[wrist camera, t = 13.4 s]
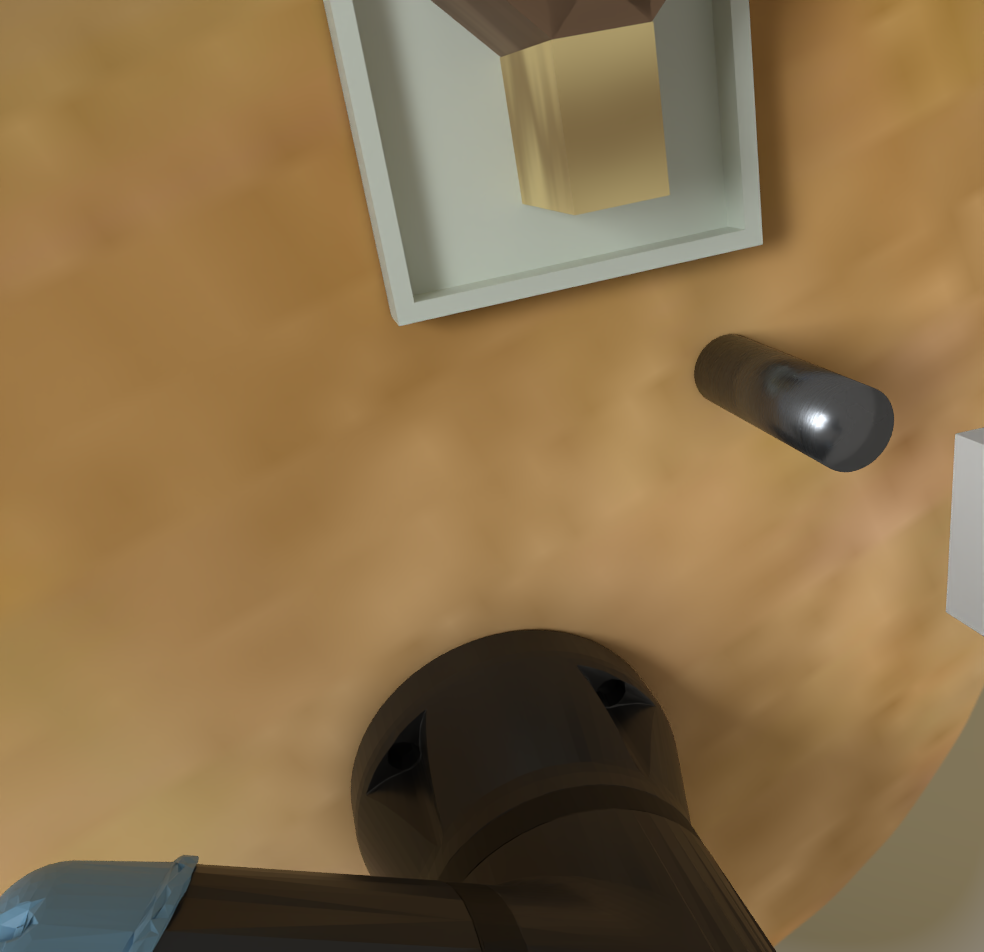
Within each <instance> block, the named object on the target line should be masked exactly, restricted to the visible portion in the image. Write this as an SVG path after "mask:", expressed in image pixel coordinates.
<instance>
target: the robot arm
mask: <svg viewBox="0 0 984 952" xmlns="http://www.w3.org/2000/svg"><path fill="white" fill-rule="evenodd" d="M946 612H947V613H948V614H950V615H951V616H953V617H954V618H956V619H958V620H959V621H961V622H962V623H964V624H965V625H967V626H968V627H970V628H972V629H973V630H975V631H976V632H978V633H979V634H981V635H982V636H984V427H983V428H979V429H975V430H970V431H966V432H961V433H957V434H955V450H954V469H953V488H952V507H951V526H950V545H949V564H948V583H947V602H946ZM351 803H352V810H353V816H354V823H355V829H356V836H357V841H358V845H359V849H360V852H361V855H362V858H363V860H364V863H365V865H366V867H367V869H368V871H369V874H370V875H371V876H365V875H350V874H336V873H321V872H306V871H291V870H276V869H262V868H247V867H232V866H217V865H202V864H197V863H198V859H199V857H198V856H190V855H183V856H181V857H179V858H177V859H176V860H175V861H174V862H136V861H76V860H73V861H64V862H58V863H54V864H50V865H47V866H44V867H42V868H39V869H37V870H34V871H33V872H31V873H29V874H27V875H26V876H24V877H23V878H21V879H20V880H18V881H17V882H16V883H14V884H13V885H12V886H11V887H10V888H9V889H7V890H6V891H5V892H4V893H3V894H2V896H1V897H0V952H776V951H775V949H774V948H773V946H772V945H771V943H770V942H769V940H768V939H767V937H766V936H765V934H764V933H763V931H762V930H761V928H760V927H759V925H758V924H757V922H756V921H755V919H754V918H753V916H752V915H751V913H750V912H749V910H748V909H747V907H746V906H745V904H744V903H743V901H742V900H741V899H740V897H739V896H738V894H737V893H736V891H735V890H734V888H733V887H732V885H731V884H730V882H729V881H728V879H727V878H726V876H725V875H724V873H723V872H722V870H721V869H720V867H719V866H718V864H717V863H716V861H715V860H714V858H713V857H712V855H711V854H710V852H709V851H708V850H707V848H706V847H705V846H704V844H703V842H702V841H701V839H700V838H699V836H698V835H697V833H696V832H695V830H694V829H693V827H692V825H691V822H690V817H689V811H688V806H687V801H686V796H685V790H684V785H683V780H682V775H681V769H680V764H679V759H678V754H677V748H676V743H675V740H674V736H673V733H672V730H671V727H670V725H669V722H668V720H667V718H666V716H665V714H664V712H663V710H662V708H661V707H660V705H659V703H658V702H657V701H656V699H655V698H654V696H653V695H652V694H651V692H650V691H649V689H648V688H647V687H646V685H645V684H644V683H643V681H642V680H641V678H640V677H639V676H638V674H637V673H636V672H635V671H634V670H633V669H632V668H631V667H630V666H629V665H628V664H627V663H626V662H625V661H624V660H623V659H621V658H620V657H619V656H618V655H616V654H615V653H613V652H612V651H610V650H609V649H607V648H605V647H603V646H601V645H600V644H597V643H595V642H593V641H590V640H588V639H585V638H582V637H579V636H575V635H571V634H567V633H561V632H554V631H542V630H528V631H515V632H507V633H502V634H496V635H492V636H488V637H484V638H481V639H478V640H475V641H472V642H469V643H467V644H464V645H462V646H459V647H457V648H455V649H453V650H451V651H449V652H447V653H445V654H443V655H441V656H439V657H438V658H436V659H434V660H433V661H431V662H430V663H428V664H426V665H425V666H424V667H422V668H421V669H420V670H418V671H417V672H415V673H414V674H413V675H412V676H411V677H409V678H408V679H407V680H406V681H405V682H404V683H403V684H402V685H401V686H399V687H398V688H397V689H396V690H395V692H394V693H393V694H392V695H391V696H390V697H389V698H388V699H387V700H386V702H385V703H384V704H383V705H382V707H381V708H380V709H379V711H378V712H377V714H376V715H375V717H374V718H373V720H372V722H371V723H370V725H369V727H368V728H367V730H366V732H365V734H364V737H363V739H362V741H361V744H360V746H359V749H358V752H357V755H356V758H355V762H354V767H353V771H352V779H351Z"/></svg>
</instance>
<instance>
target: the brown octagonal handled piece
mask: <svg viewBox="0 0 984 952" xmlns="http://www.w3.org/2000/svg"><path fill="white" fill-rule="evenodd" d="M431 1H432V2H433V3H434V4H436V5H437V6H438V7H439V8H441V9H442V10H443V11H444V12H446V13H447V14H448V15H449V16H451V17H452V18H453V19H454V20H455V21H457V22H458V23H459V24H460V25H462V26H463V27H464V28H465V29H467V30H468V31H469V32H470V33H471V34H473V35H474V36H475V37H476V38H478V39H479V40H480V41H481V42H483V43H484V44H485V45H486V46H487V47H489V48H490V49H491V50H492V51H494V52H495V53H496V54H497V55H499V56H500V63H501V70H502V76H503V82H504V89H505V95H506V102H507V108H508V115H509V121H510V127H511V134H512V140H513V147H514V153H515V160H516V166H517V172H518V179H519V185H520V192H521V198H522V204H525V205H530V206H535V207H539V208H544V209H548V210H553V211H557V212H562V213H566V214H571V215H579V214H584V213H588V212H593V211H598V210H603V209H607V208H612V207H617V206H621V205H626V204H631V203H635V202H640V201H645V200H649V199H654V198H659V197H663V196H668V195H670V190H669V179H668V169H667V158H666V148H665V137H664V127H663V117H662V106H661V96H660V85H659V75H658V64H657V54H656V43H655V33H654V23H653V22H652V21H653V19H654V18H655V16H656V15H657V13H658V12H659V10H660V8H661V7H662V5H663V4H664V2H665V1H666V0H431Z"/></svg>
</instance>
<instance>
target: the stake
mask: <svg viewBox="0 0 984 952" xmlns="http://www.w3.org/2000/svg"><path fill="white" fill-rule="evenodd" d="M694 378H695V383H696V386H697V388H698V390H699V392H700V393H701V394H702V396H703V397H705V398H706V399H707V400H709V401H711V402H713V403H714V404H716V405H718V406H720V407H722V408H723V409H725V410H727V411H729V412H731V413H732V414H734V415H736V416H738V417H739V418H741V419H743V420H745V421H747V422H748V423H750V424H752V425H754V426H755V427H757V428H759V429H761V430H763V431H764V432H766V433H768V434H770V435H772V436H773V437H775V438H777V439H779V440H780V441H782V442H784V443H786V444H788V445H789V446H791V447H793V448H795V449H796V450H798V451H800V452H802V453H804V454H805V455H807V456H809V457H811V458H813V459H814V460H816V461H818V462H820V463H821V464H823V465H825V466H827V467H829V468H830V469H833V470H835V471H839V472H852V471H856V470H859V469H861V468H864V467H866V466H867V465H869V464H870V463H872V462H873V461H874V460H875V459H876V458H877V457H878V456H879V455H880V454H881V453H882V452H883V450H884V449H885V447H886V446H887V444H888V442H889V440H890V437H891V435H892V431H893V426H894V413H893V409H892V406H891V403H890V401H889V400H888V398H887V397H886V396H885V395H884V394H883V393H882V392H880V391H879V390H877V389H875V388H872V387H870V386H867V385H865V384H862V383H860V382H857V381H855V380H852V379H850V378H847V377H844V376H842V375H839V374H837V373H834V372H832V371H829V370H827V369H824V368H822V367H819V366H816V365H814V364H811V363H809V362H806V361H804V360H801V359H799V358H796V357H793V356H791V355H788V354H786V353H783V352H781V351H778V350H776V349H773V348H771V347H768V346H765V345H763V344H760V343H758V342H755V341H753V340H750V339H748V338H745V337H743V336H740V335H734V334H728V335H723V336H720V337H718V338H716V339H714V340H713V341H711V342H710V343H709V344H708V345H707V346H706V347H705V348H704V349H703V350H702V352H701V353H700V355H699V357H698V359H697V362H696V365H695V371H694Z"/></svg>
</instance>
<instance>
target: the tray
mask: <svg viewBox="0 0 984 952" xmlns="http://www.w3.org/2000/svg"><path fill="white" fill-rule="evenodd" d="M323 2H324V6H325V11H326V16H327V20H328V25H329V29H330V34H331V39H332V43H333V48H334V53H335V57H336V62H337V67H338V71H339V76H340V80H341V85H342V90H343V94H344V99H345V104H346V108H347V113H348V117H349V122H350V127H351V131H352V136H353V141H354V145H355V150H356V154H357V159H358V164H359V168H360V173H361V178H362V182H363V187H364V192H365V196H366V201H367V205H368V210H369V215H370V219H371V224H372V229H373V233H374V238H375V242H376V247H377V252H378V256H379V261H380V266H381V270H382V275H383V279H384V284H385V289H386V293H387V298H388V303H389V307H390V312H391V316H392V318H393V319H394V320H395V321H396V323H397V324H398V325H399V326H402V325H406V324H411V323H415V322H420V321H424V320H428V319H433V318H437V317H442V316H446V315H451V314H455V313H460V312H464V311H469V310H473V309H477V308H482V307H486V306H491V305H495V304H500V303H504V302H509V301H513V300H517V299H522V298H526V297H531V296H535V295H540V294H544V293H549V292H553V291H558V290H562V289H566V288H571V287H575V286H580V285H584V284H589V283H593V282H598V281H602V280H606V279H611V278H615V277H620V276H624V275H629V274H633V273H638V272H642V271H647V270H651V269H655V268H660V267H664V266H669V265H673V264H678V263H682V262H687V261H691V260H696V259H700V258H704V257H709V256H713V255H718V254H722V253H727V252H731V251H736V250H740V249H744V248H749V247H753V246H758V245H762V244H763V237H762V219H761V202H760V184H759V167H758V150H757V132H756V115H755V98H754V80H753V63H752V46H751V28H750V11H749V0H666V1H665V2H664V4H663V5H662V7H661V8H660V10H659V12H658V13H657V15H656V16H655V18H654V19H653V21H652V22H653V23H654V33H655V43H656V54H657V64H658V75H659V85H660V96H661V106H662V117H663V127H664V137H665V148H666V158H667V169H668V179H669V190H670V195H668V196H663V197H659V198H654V199H649V200H645V201H640V202H635V203H631V204H626V205H621V206H617V207H612V208H607V209H603V210H598V211H593V212H588V213H584V214H579V215H571V214H566V213H562V212H557V211H553V210H548V209H544V208H539V207H535V206H530V205H525V204H522V198H521V192H520V185H519V179H518V172H517V166H516V160H515V153H514V147H513V140H512V134H511V127H510V121H509V115H508V108H507V102H506V95H505V89H504V82H503V76H502V70H501V63H500V56H499V55H497V54H496V53H495V52H494V51H492V50H491V49H490V48H489V47H487V46H486V45H485V44H484V43H483V42H481V41H480V40H479V39H478V38H476V37H475V36H474V35H473V34H471V33H470V32H469V31H468V30H467V29H465V28H464V27H463V26H462V25H460V24H459V23H458V22H457V21H455V20H454V19H453V18H452V17H451V16H449V15H448V14H447V13H446V12H444V11H443V10H442V9H441V8H439V7H438V6H437V5H436V4H434V3H433V2H432V1H431V0H323Z"/></svg>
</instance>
